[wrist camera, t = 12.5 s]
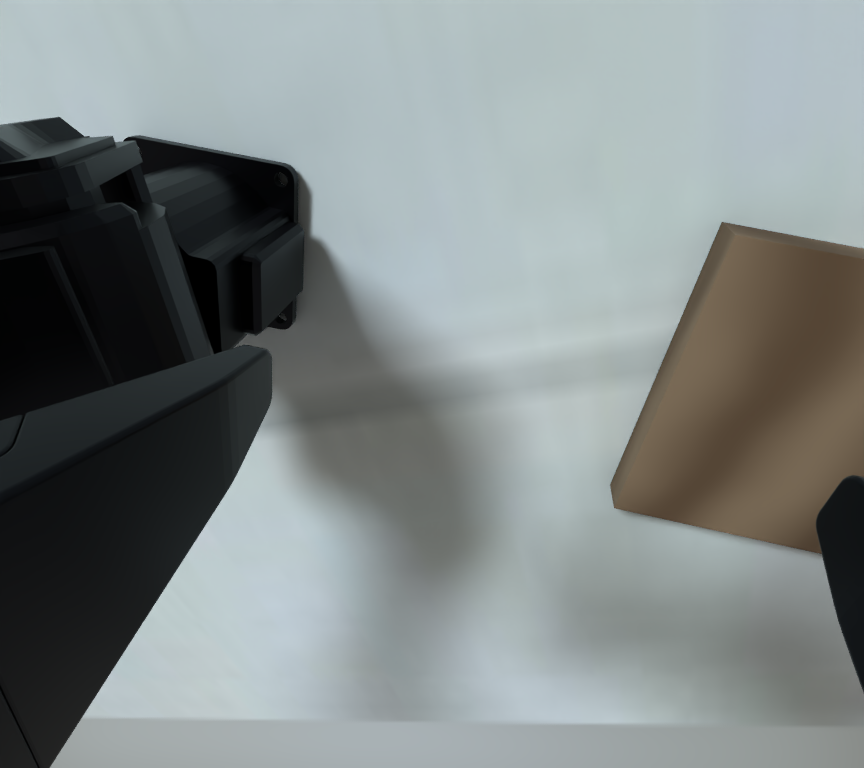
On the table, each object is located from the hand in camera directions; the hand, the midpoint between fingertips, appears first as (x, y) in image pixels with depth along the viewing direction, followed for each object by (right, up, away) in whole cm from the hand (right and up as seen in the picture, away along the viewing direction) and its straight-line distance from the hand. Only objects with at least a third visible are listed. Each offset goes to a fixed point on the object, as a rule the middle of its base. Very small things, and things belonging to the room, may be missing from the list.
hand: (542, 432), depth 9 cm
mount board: (+16, -1, +13) cm, 20 cm away
